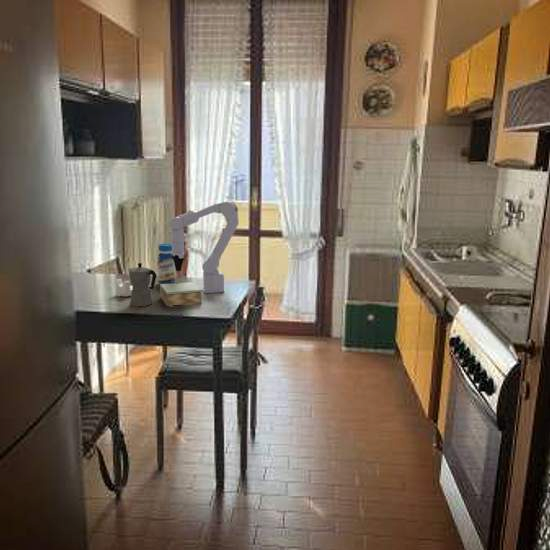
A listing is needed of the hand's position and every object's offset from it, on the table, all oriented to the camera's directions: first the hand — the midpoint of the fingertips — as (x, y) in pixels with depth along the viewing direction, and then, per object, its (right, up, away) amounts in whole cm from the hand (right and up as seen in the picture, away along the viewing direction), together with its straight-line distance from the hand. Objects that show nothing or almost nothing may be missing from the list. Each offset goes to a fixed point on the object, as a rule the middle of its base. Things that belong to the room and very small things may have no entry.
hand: (178, 270), depth 258 cm
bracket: (-20, -11, -7) cm, 24 cm away
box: (+4, -13, -18) cm, 23 cm away
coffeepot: (-11, -15, -24) cm, 31 cm away
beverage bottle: (-9, -7, +14) cm, 18 cm away
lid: (+4, -11, -18) cm, 22 cm away
